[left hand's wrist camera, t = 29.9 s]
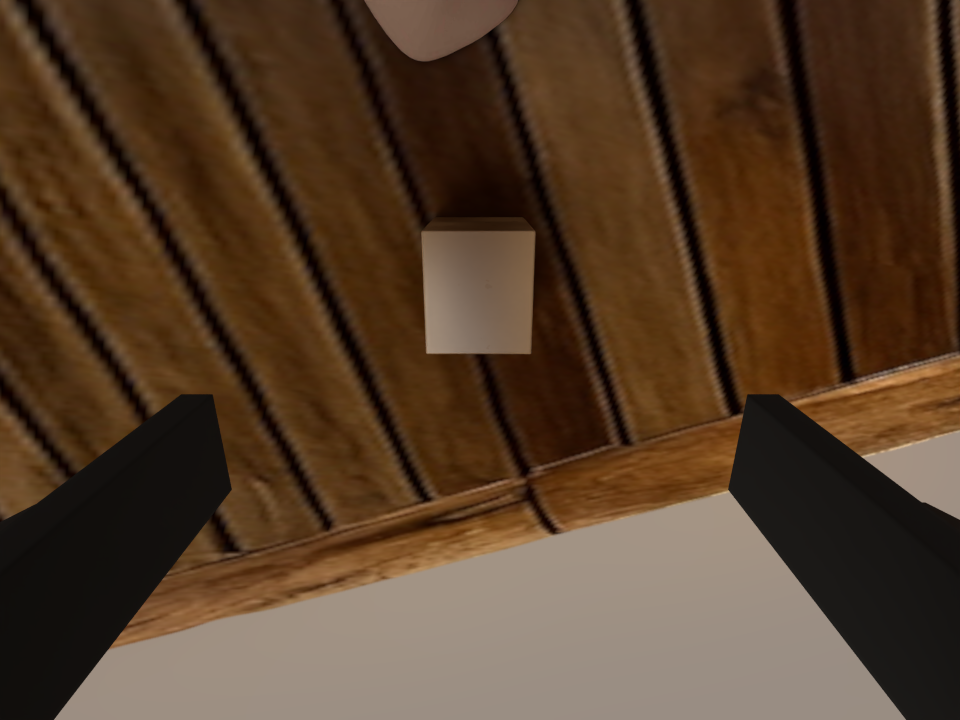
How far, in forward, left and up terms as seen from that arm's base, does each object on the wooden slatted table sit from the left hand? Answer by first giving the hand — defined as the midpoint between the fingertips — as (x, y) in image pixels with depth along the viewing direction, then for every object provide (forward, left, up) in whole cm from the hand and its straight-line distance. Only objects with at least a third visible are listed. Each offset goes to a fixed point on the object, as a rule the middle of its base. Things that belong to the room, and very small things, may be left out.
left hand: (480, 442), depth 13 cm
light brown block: (0, 0, -24) cm, 24 cm away
